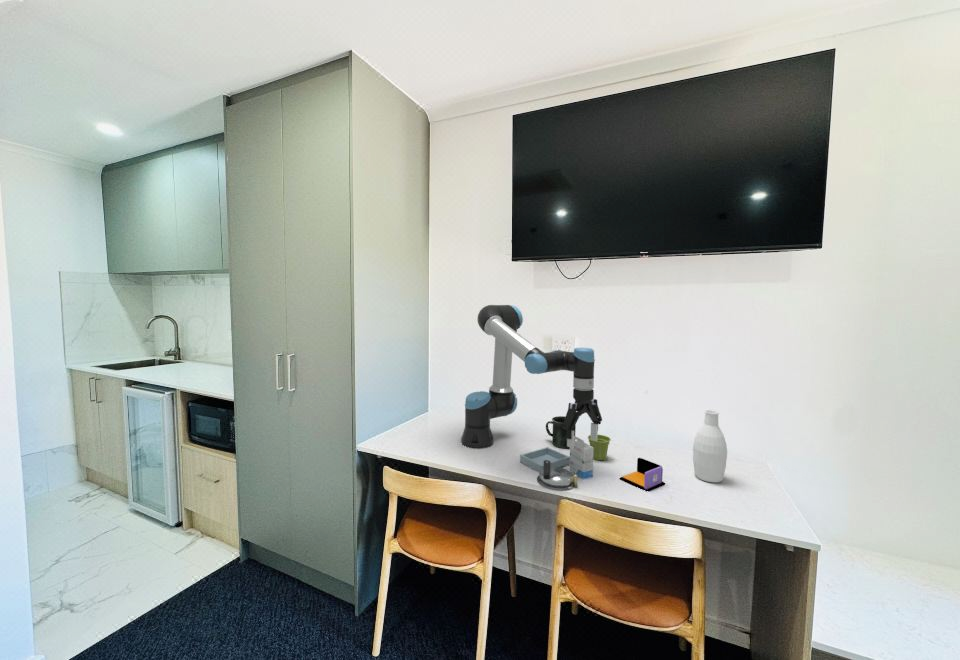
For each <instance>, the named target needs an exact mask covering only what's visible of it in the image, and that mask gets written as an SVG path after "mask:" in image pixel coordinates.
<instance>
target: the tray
mask: <svg viewBox="0 0 960 660" xmlns="http://www.w3.org/2000/svg"><path fill="white" fill-rule="evenodd" d="M544 460H549V461H550V462H551V463H550V467H558V468H563V467H567V466H570V455H567V454H564V453H561V452H560V451H557V450H555V449H553V448H550V447H549V446H547V447H543V448H540V449H536V450H532V451H529V452H526V453H523V454H519V462H520V463H521V464H523V465H524V466H527V467H528V468H530V469H532V470H534V471H535V472H538V473H539V474H540V471H541V470H542V469H544Z"/></svg>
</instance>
